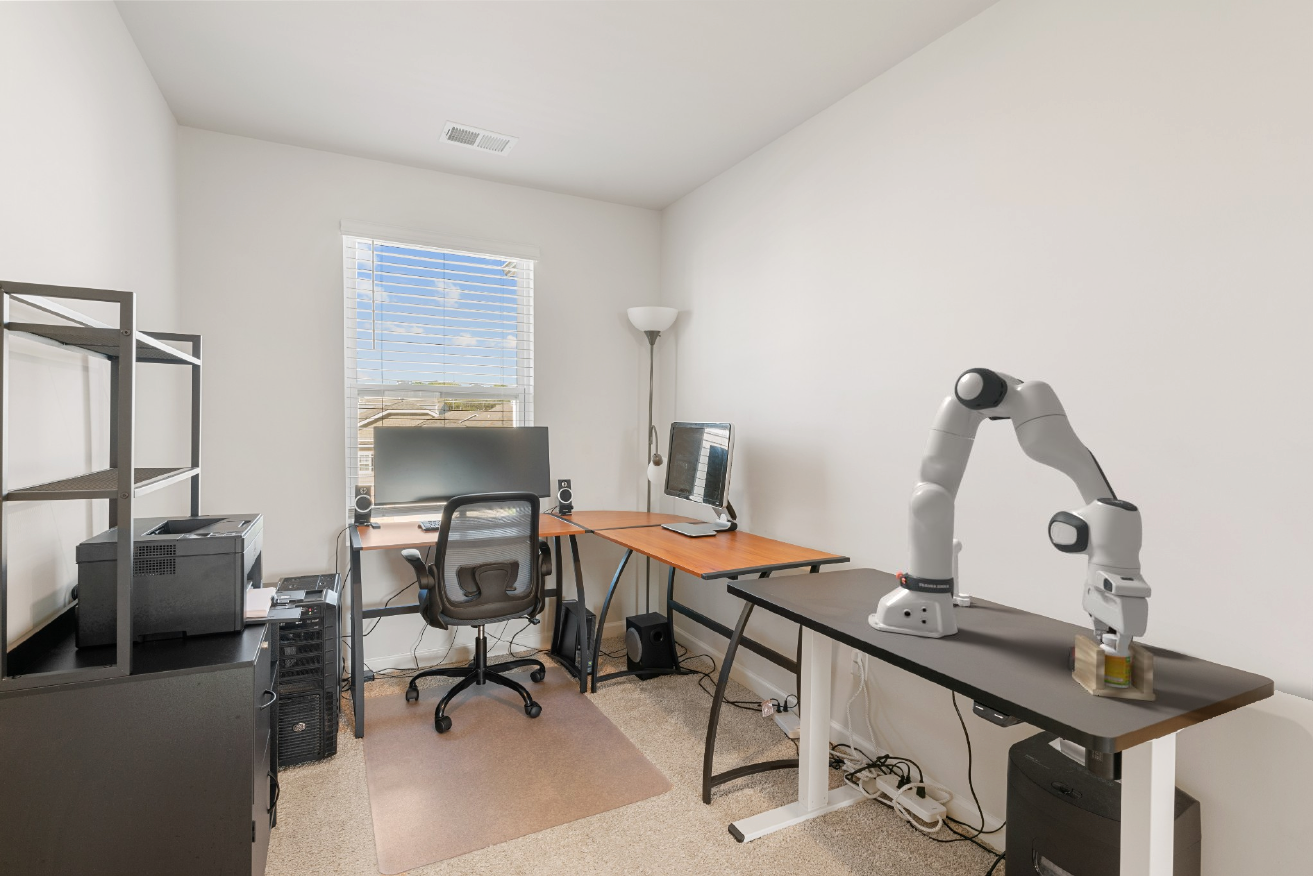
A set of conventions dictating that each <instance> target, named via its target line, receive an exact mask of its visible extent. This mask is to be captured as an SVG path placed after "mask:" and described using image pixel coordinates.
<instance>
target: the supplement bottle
mask: <svg viewBox="0 0 1313 876" xmlns="http://www.w3.org/2000/svg"><path fill="white" fill-rule="evenodd" d="M1117 638H1118V636H1117V635H1114V634H1103V639H1102V640H1103V642H1104V644H1102V643H1101V644H1100V645H1099V646H1100V647H1101V648H1102V649H1104V650H1105V670H1104V685H1107V686H1110V687H1115V688H1128V687H1129V686H1130V651H1129V650H1128V653H1127V654H1119V653H1118V652H1116V651H1115V650H1114V642H1117Z"/></svg>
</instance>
